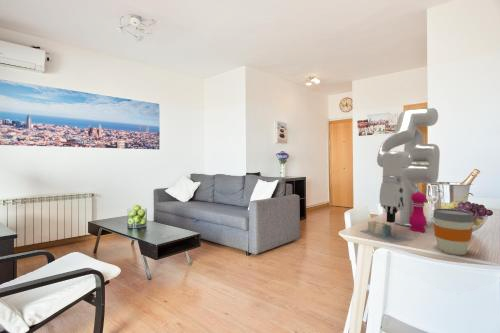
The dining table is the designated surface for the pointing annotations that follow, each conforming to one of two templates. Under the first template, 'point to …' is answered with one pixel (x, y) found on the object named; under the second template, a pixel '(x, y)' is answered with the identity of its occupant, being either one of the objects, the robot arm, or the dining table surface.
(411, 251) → the dining table surface
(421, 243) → the dining table surface
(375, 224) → the beech block
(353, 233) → the dining table surface
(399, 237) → the slate mat
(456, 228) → the reusable coffee cup
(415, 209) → the pepper mill
